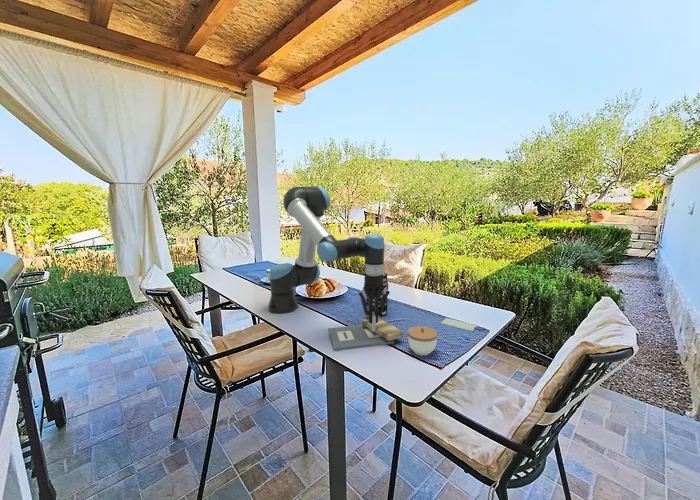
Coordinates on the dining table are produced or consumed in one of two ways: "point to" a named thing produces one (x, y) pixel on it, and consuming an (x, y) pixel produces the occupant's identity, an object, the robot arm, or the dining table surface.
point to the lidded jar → (422, 339)
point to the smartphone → (459, 324)
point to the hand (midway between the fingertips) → (373, 330)
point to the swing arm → (383, 329)
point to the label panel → (355, 337)
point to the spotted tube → (381, 297)
